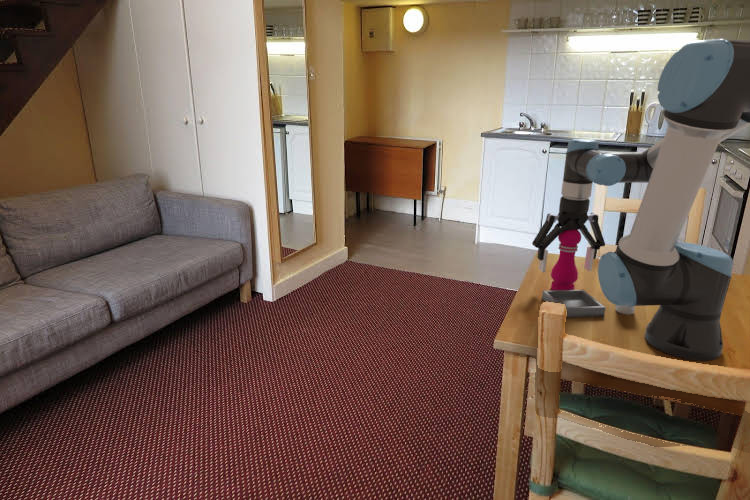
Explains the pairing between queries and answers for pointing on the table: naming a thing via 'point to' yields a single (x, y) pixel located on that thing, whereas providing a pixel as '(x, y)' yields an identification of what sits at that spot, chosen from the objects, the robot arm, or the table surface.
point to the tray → (575, 302)
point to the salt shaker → (625, 309)
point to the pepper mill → (566, 261)
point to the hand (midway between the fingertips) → (564, 270)
